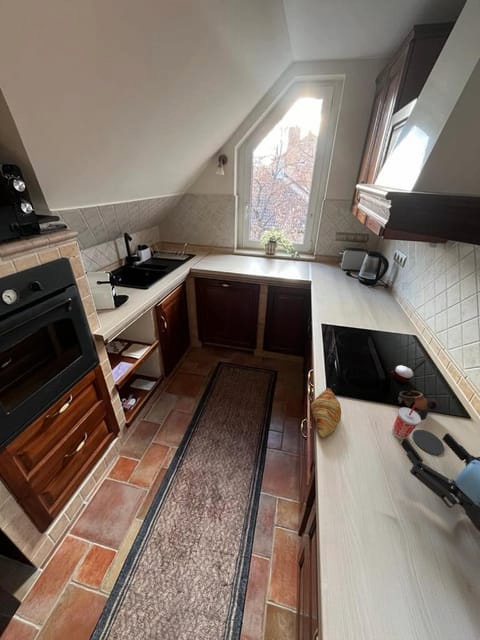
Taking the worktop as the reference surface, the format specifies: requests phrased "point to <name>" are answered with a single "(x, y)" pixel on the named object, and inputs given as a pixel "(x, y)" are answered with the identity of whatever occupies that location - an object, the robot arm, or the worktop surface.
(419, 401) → the pottery mug
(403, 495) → the worktop surface
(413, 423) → the beverage cup
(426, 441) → the slate coaster
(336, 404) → the croissant
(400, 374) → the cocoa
